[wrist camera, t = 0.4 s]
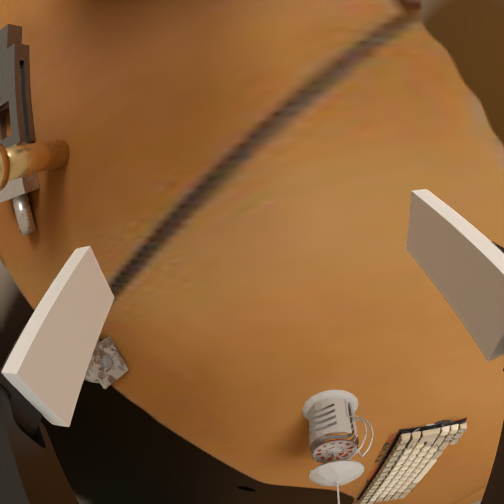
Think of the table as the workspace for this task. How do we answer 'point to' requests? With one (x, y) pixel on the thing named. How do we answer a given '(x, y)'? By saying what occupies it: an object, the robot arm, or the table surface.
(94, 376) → the caster wheel
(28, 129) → the clevis
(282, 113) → the table surface
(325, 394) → the french press
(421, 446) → the mechanical keyboard
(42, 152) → the clevis pin
